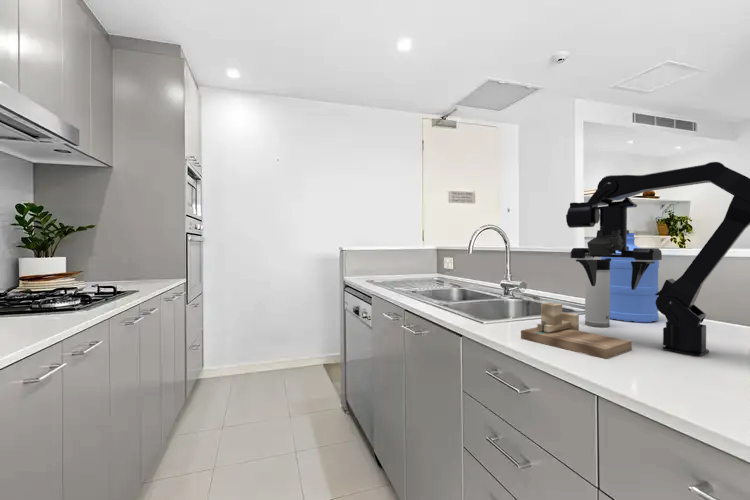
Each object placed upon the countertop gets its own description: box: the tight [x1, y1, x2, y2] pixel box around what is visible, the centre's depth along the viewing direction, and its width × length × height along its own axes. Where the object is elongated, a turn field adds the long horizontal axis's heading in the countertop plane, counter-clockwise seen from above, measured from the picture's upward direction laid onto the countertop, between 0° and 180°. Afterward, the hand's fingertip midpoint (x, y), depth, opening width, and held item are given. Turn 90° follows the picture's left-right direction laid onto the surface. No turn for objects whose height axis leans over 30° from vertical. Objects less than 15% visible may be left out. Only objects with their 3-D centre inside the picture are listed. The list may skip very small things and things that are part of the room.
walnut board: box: [520, 326, 633, 360], centre depth 86 cm, size 20×12×2 cm, turn 33°
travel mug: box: [584, 258, 611, 328], centre depth 106 cm, size 6×7×20 cm
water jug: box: [600, 232, 660, 323], centre depth 117 cm, size 16×16×28 cm
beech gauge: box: [536, 301, 580, 332], centre depth 92 cm, size 5×12×8 cm, turn 123°
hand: (612, 287), depth 90 cm, fingers open, 9 cm apart
